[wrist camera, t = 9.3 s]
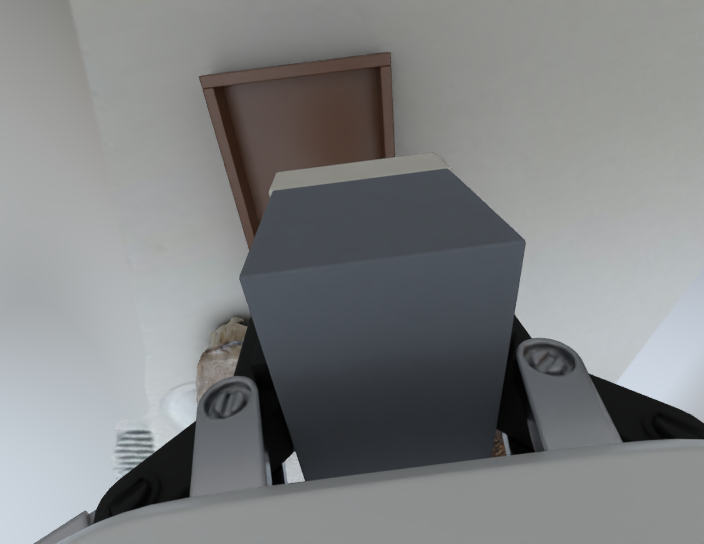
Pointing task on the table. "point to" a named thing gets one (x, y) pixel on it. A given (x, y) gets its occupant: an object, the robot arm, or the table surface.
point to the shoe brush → (220, 355)
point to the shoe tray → (298, 122)
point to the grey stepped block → (383, 313)
